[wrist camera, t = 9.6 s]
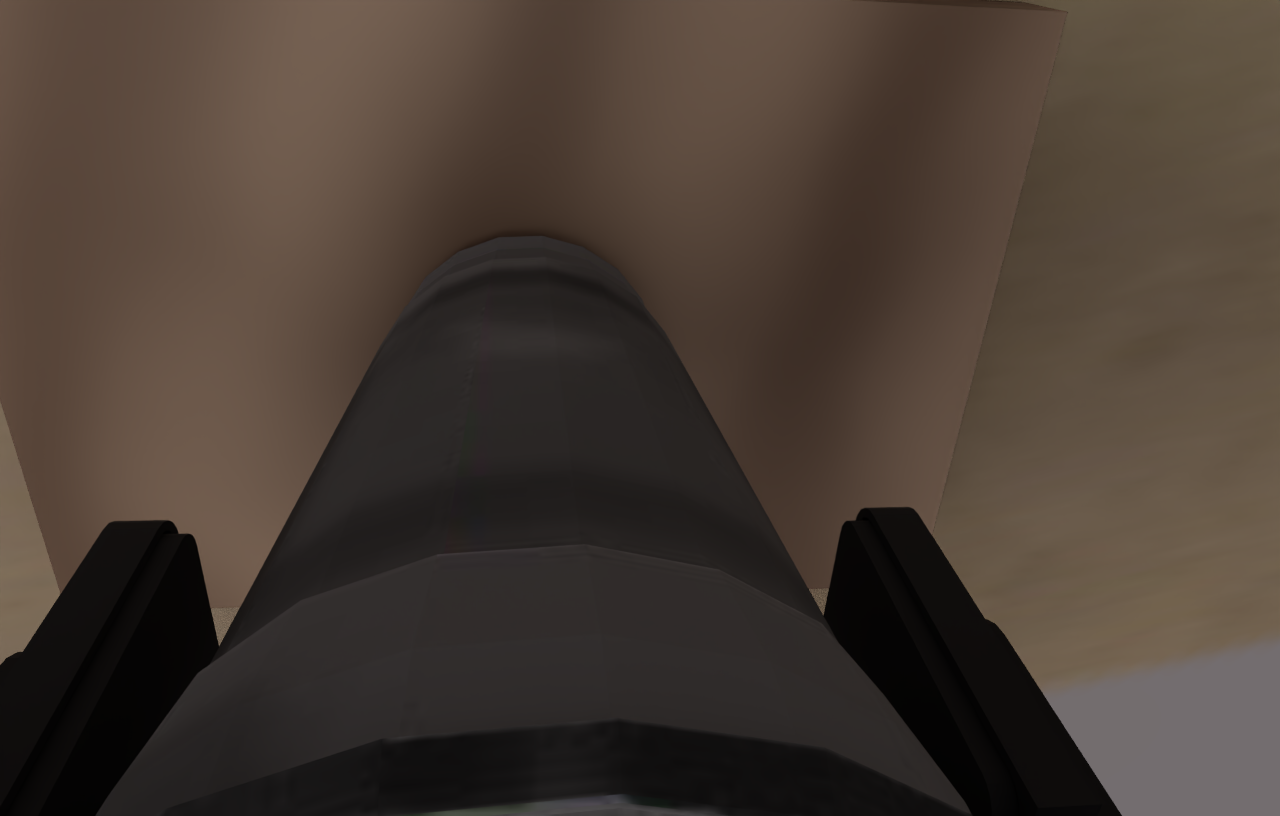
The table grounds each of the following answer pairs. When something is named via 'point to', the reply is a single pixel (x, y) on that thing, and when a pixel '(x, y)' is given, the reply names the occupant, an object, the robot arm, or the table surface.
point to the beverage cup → (530, 595)
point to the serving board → (495, 229)
